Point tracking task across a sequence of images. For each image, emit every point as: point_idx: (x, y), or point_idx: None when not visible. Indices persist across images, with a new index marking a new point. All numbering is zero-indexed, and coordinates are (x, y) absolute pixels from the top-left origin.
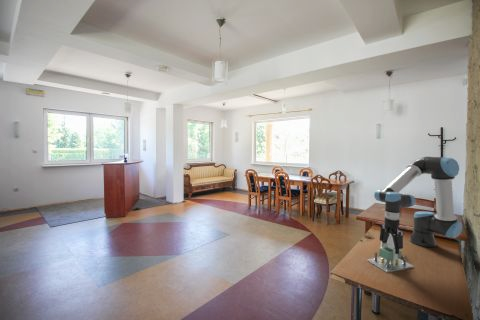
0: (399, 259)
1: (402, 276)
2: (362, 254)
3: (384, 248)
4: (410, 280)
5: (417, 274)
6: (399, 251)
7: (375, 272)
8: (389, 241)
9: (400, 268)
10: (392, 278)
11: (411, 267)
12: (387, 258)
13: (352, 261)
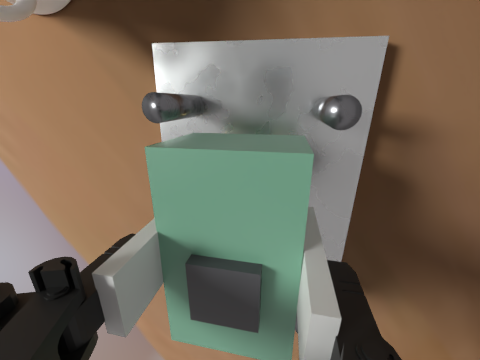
0: (239, 56)
1: (410, 266)
2: (107, 232)
3: (179, 296)
4: (473, 269)
5: (470, 137)
6: (308, 193)
7: (297, 343)
8: None
9: (352, 206)
10: (387, 331)
11: (376, 72)
12: (295, 325)
13: None
